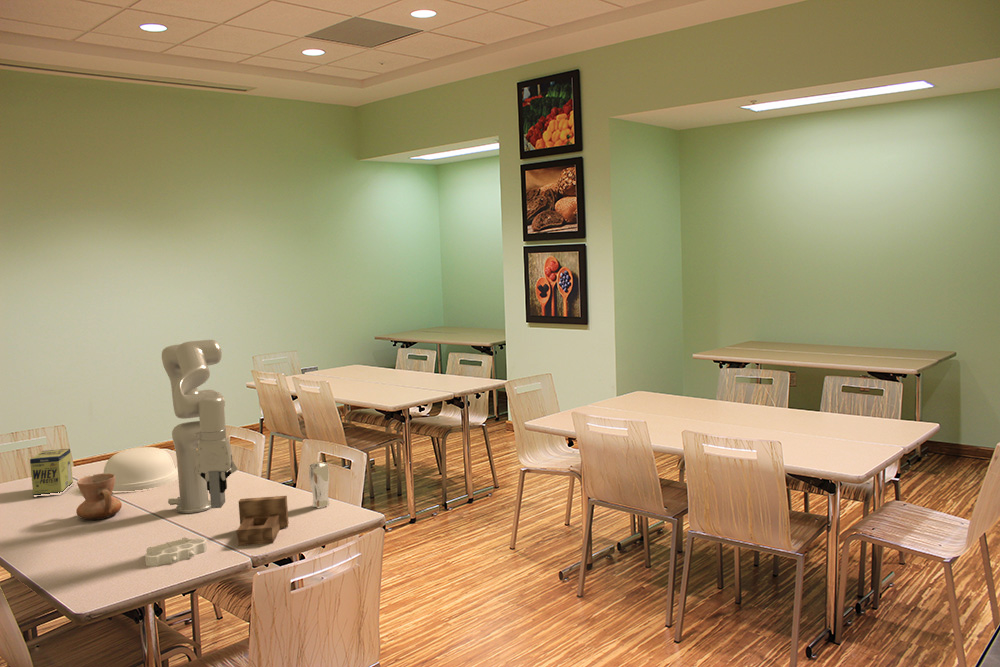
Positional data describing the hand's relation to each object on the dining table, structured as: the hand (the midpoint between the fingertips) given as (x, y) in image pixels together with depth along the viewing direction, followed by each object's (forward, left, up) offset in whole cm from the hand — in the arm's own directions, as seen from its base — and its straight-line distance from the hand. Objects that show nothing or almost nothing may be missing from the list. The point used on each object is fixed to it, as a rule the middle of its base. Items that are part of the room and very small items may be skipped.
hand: (217, 491), depth 250 cm
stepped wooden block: (+12, +1, -16) cm, 20 cm away
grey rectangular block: (0, 0, -5) cm, 5 cm away
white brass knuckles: (-11, -12, -16) cm, 23 cm away
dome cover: (-51, +79, -16) cm, 95 cm away
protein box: (-83, +75, -16) cm, 113 cm away
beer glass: (+28, +29, -16) cm, 43 cm away
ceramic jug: (-50, +35, -16) cm, 63 cm away
